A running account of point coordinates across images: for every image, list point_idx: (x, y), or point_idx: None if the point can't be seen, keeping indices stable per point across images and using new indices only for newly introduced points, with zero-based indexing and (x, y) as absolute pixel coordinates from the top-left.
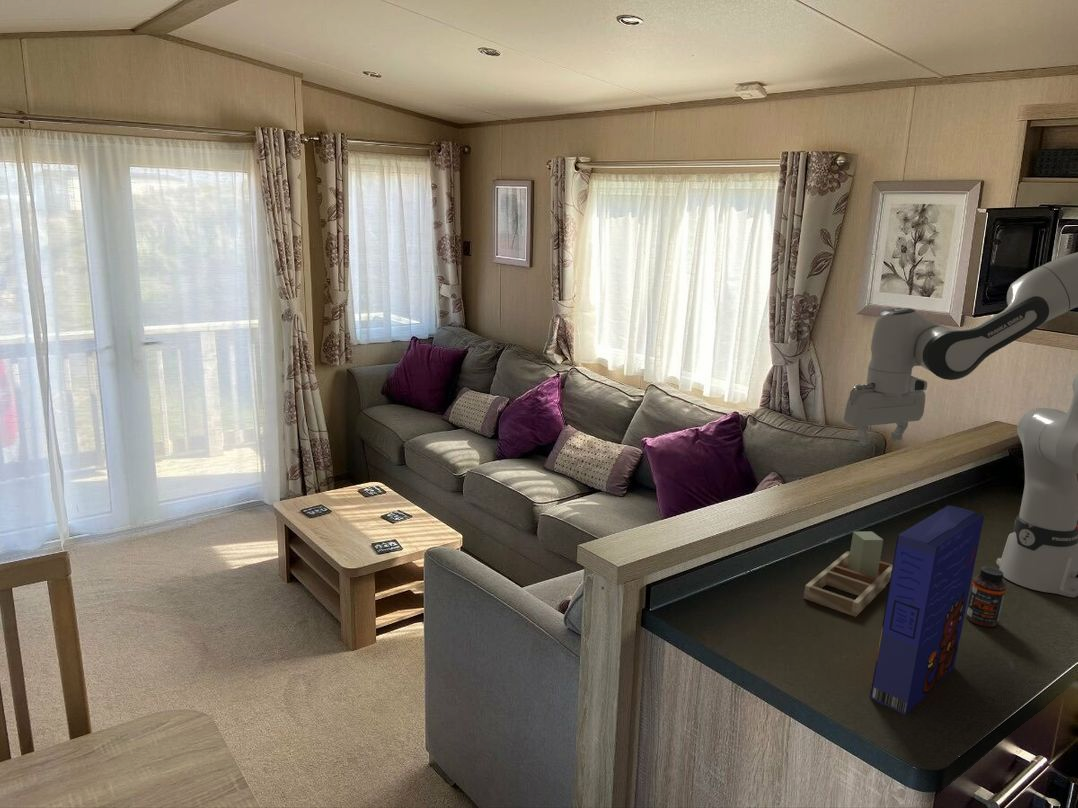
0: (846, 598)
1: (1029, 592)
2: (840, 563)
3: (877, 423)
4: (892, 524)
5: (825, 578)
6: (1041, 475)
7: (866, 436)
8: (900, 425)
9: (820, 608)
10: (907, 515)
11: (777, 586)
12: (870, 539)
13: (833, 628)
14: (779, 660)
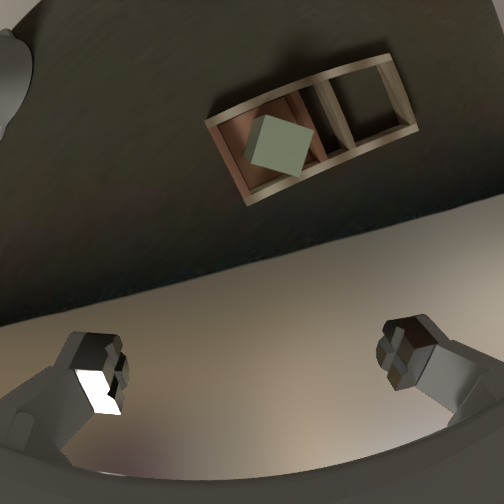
0: (394, 71)
1: (38, 43)
2: None
3: (485, 422)
4: (54, 301)
5: (358, 144)
6: None
7: (452, 346)
8: (50, 437)
9: None
10: (21, 317)
11: (412, 173)
12: (295, 127)
13: (422, 57)
14: (492, 61)
